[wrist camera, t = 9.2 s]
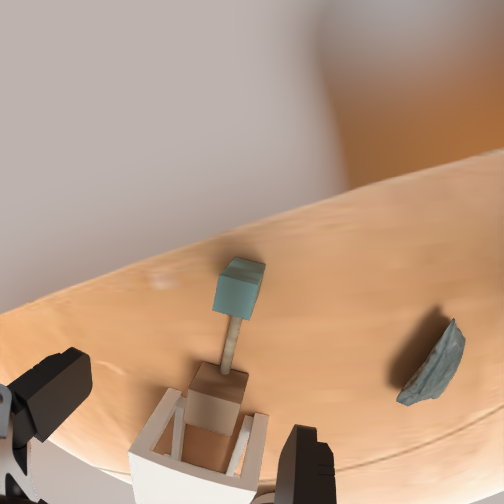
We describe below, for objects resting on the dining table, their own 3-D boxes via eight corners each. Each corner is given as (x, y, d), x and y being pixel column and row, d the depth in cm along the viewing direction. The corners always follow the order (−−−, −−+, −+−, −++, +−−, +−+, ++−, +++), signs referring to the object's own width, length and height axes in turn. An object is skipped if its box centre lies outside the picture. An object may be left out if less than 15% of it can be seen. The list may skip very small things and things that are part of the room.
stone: (476, 314, 25) (426, 305, 23) (497, 332, 22) (451, 328, 20) (431, 385, 29) (376, 389, 27) (447, 405, 25) (391, 415, 23)
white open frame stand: (268, 415, 30) (256, 492, 19) (241, 480, 33) (227, 539, 22) (169, 387, 31) (127, 451, 20) (164, 458, 34) (137, 510, 23)
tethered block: (277, 267, 26) (273, 289, 20) (239, 407, 30) (229, 443, 24) (223, 254, 26) (204, 270, 21) (197, 394, 30) (180, 429, 24)
